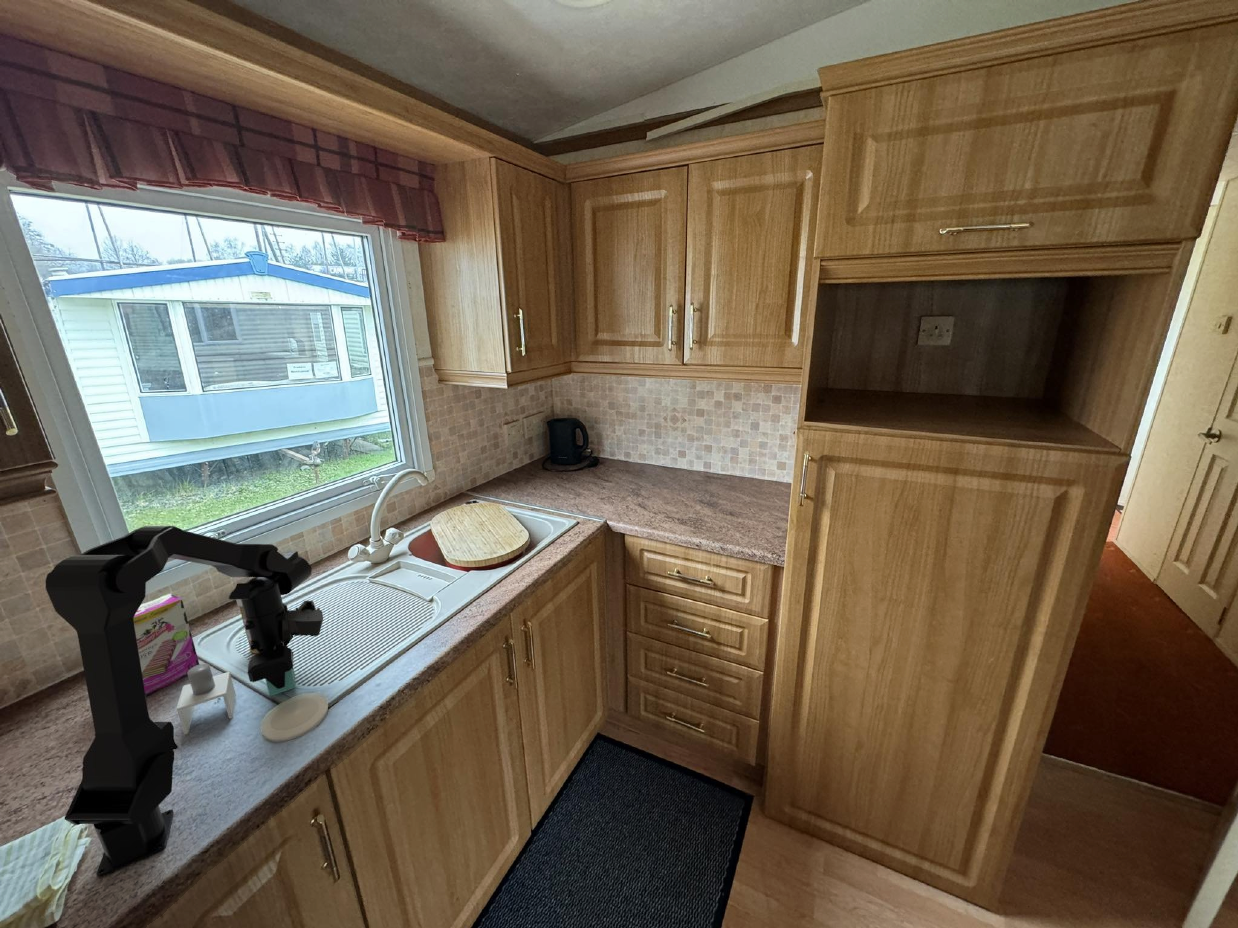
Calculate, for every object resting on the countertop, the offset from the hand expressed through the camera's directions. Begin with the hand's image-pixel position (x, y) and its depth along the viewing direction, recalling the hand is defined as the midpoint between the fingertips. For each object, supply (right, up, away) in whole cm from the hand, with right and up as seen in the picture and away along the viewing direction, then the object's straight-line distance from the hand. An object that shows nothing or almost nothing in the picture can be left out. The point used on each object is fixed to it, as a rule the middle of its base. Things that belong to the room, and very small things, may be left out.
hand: (281, 680), depth 92 cm
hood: (-9, -4, -5) cm, 11 cm away
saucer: (+7, -4, -7) cm, 10 cm away
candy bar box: (-25, -2, +3) cm, 26 cm away
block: (0, -1, 0) cm, 1 cm away
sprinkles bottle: (-13, +1, +13) cm, 19 cm away
